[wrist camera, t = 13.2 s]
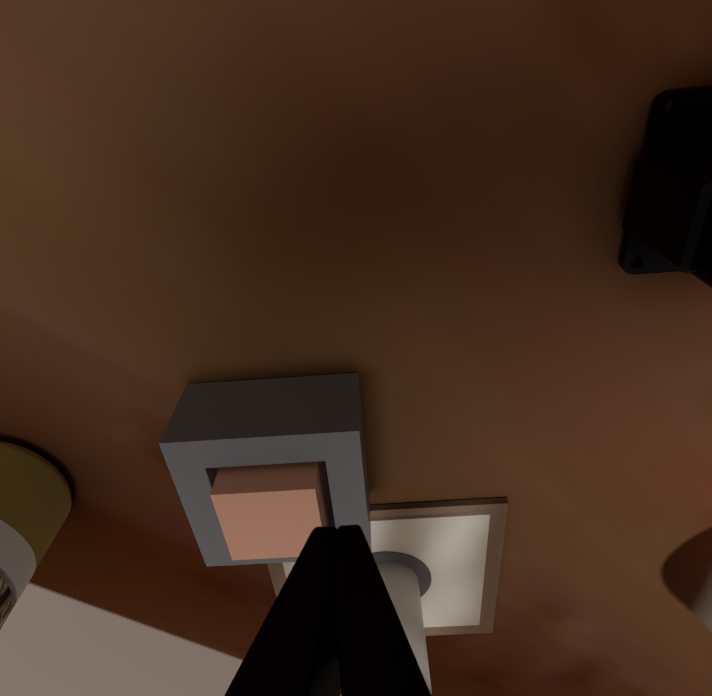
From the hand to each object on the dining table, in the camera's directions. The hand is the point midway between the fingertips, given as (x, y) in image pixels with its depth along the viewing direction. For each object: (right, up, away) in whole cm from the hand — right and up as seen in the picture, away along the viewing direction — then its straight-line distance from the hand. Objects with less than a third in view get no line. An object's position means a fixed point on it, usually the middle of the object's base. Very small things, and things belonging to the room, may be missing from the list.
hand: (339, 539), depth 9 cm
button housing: (-3, -1, +16) cm, 17 cm away
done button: (-3, -2, +15) cm, 16 cm away
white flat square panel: (+2, -11, +22) cm, 25 cm away
